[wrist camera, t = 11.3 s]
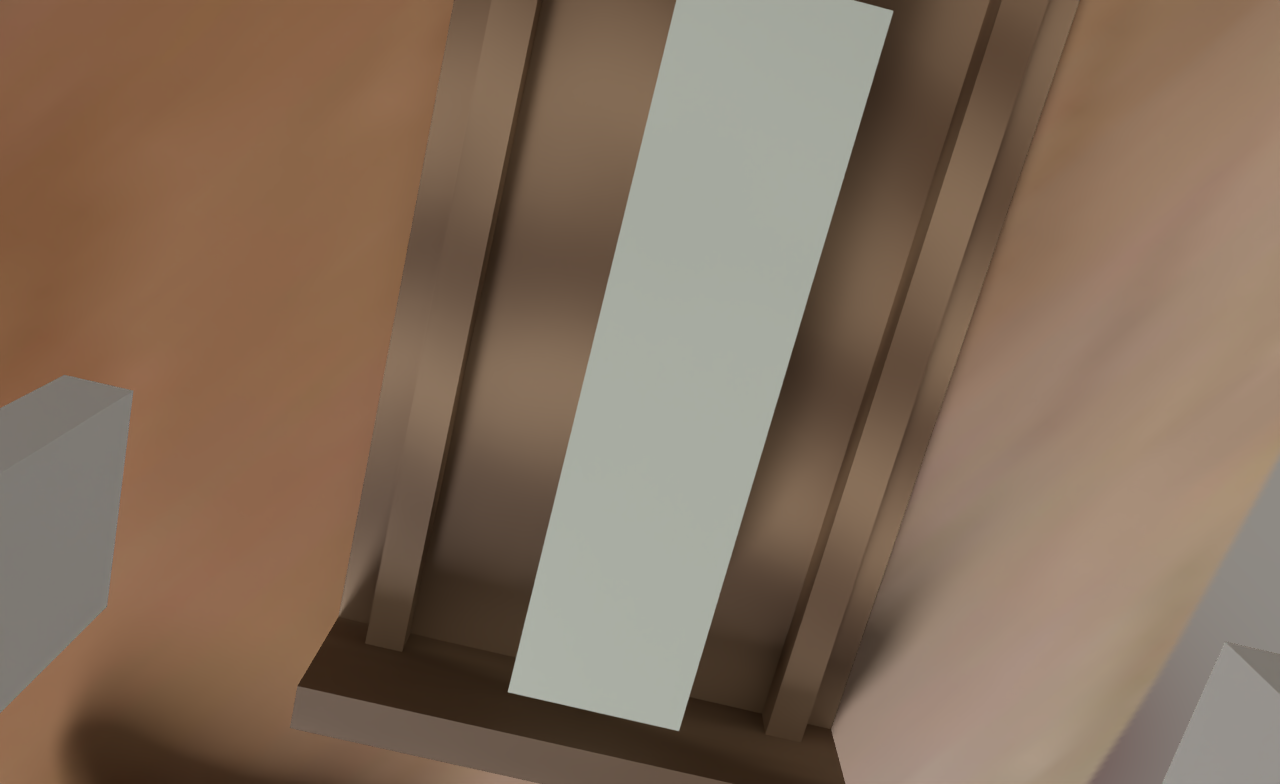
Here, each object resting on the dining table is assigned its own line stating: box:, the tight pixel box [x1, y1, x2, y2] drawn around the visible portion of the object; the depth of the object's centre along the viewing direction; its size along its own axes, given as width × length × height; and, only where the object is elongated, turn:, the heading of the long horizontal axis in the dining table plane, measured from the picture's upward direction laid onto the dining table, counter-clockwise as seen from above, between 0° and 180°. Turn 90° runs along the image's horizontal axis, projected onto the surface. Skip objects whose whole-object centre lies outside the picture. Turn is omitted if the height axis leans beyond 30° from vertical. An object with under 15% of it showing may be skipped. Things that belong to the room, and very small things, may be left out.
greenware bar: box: [508, 0, 893, 731], centre depth 25 cm, size 4×16×5 cm, turn 166°
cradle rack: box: [290, 0, 1080, 784], centre depth 26 cm, size 24×14×4 cm, turn 166°
